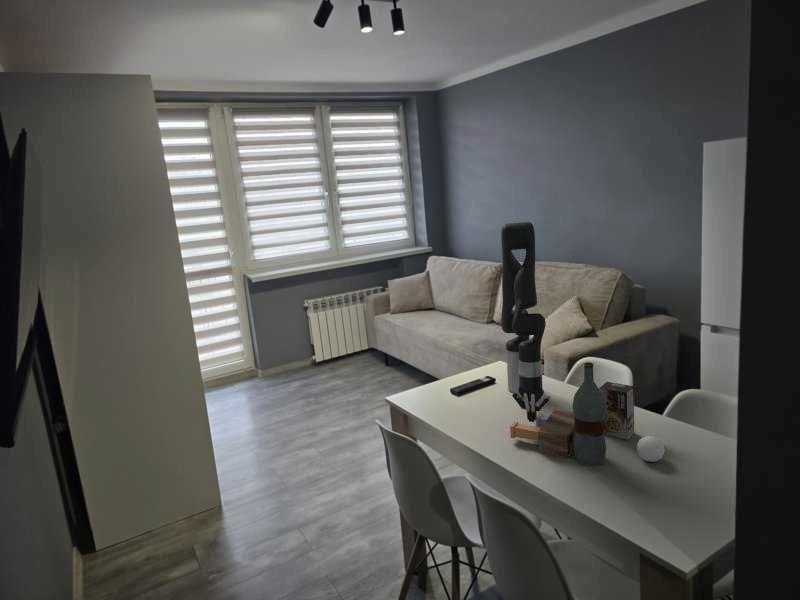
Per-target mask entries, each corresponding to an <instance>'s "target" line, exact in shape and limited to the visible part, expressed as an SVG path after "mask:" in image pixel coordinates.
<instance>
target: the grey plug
mask: <svg viewBox="0 0 800 600" xmlns="http://www.w3.org/2000/svg"><path fill="white" fill-rule="evenodd" d="M549 416H550V415H544V413H540V412H539V413H538V414H537V417H536V420H535V427H540V428H541V427H542V425H543V424H544V423H545V421H546V420H547V419H548V417H549Z"/></svg>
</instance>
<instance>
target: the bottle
mask: <svg viewBox="0 0 800 600" xmlns="http://www.w3.org/2000/svg"><path fill="white" fill-rule="evenodd" d="M594 364H595V363H593V362H590V361H587V362H584V364H583V381H582V383H581V385H580V386H579V388H578V389H577V391H576V392H575V393H574V395H573V399H572V400H573V401H572V412H574V421H575V436H574V448H573V452H574V457H575V459H576V460H577V462H579V464H582V465H585V466H591V467H592V466H599V465H601V464H604V461H605V458H606V452H607V444H606V436H605V434H604V424H605V413H606V405H605V399H604V396H603V394H602V392H601V391H600V389H599V388H600V387H599V386H598V385H597V384H596V382H595V381H594V379H595V378H594Z"/></svg>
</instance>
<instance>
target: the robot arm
mask: <svg viewBox="0 0 800 600" xmlns="http://www.w3.org/2000/svg"><path fill="white" fill-rule="evenodd" d="M534 227H535V226H534V224H533V223H532V222H530V221H522V222H511V223H510V222H509V223H505V224H503V225H502V228H501V234H500V235H501V236H500V238H501V253H502V255H501V256H502V274H501V275H502V276H501V290H502V293H501V294H502V305H501V306H502V307H501V315H500V316H501V318H500V320H501V321H500V322H501V323H500V324H501V329H502V331H503V332H504V333H505V334H515V335H516V337H514V338H512V339H509V340H508V341H506V343H505V349H506V353H505V354H506V370H507V390H508V391H509V392H510V393H513V394H511V395H512V396H511V397H512V398H513V399H514V400H515V402H516V403H517V404H518V406H519V407H520V408H521V409H522V410H526V419H527V420H528V422H530V423H535V422H536V417H537V416H538V414H537V412H540V411H541V410H542V409H543V408H544V407H545V406H546V404H547V403H548V402H549V401H550V400H551V396H549V395H546V394H545V391H544V389H543V366H542V365H543V364H542V354H541V347H542V340H543V337H544V333H545V331H546V330H545V329H546V322H547V321H546V319H545V317H544V315H543V314H541V313H540V312H539V313H536V312H535V313H529V311H528V309H531V308H534V307H536V306H537V304H538V295H537V286H536V235H535V234H536V233H535V228H534ZM518 250H525V258H524V260H523V262H522V264H521V263H520V262H519V260H517V258H516V257H515V255H514V253H513V251H518ZM514 308H515V309H514ZM530 336H532V337H531V338H530ZM540 399H541V403H540V404H538V402H539V400H540Z"/></svg>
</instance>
